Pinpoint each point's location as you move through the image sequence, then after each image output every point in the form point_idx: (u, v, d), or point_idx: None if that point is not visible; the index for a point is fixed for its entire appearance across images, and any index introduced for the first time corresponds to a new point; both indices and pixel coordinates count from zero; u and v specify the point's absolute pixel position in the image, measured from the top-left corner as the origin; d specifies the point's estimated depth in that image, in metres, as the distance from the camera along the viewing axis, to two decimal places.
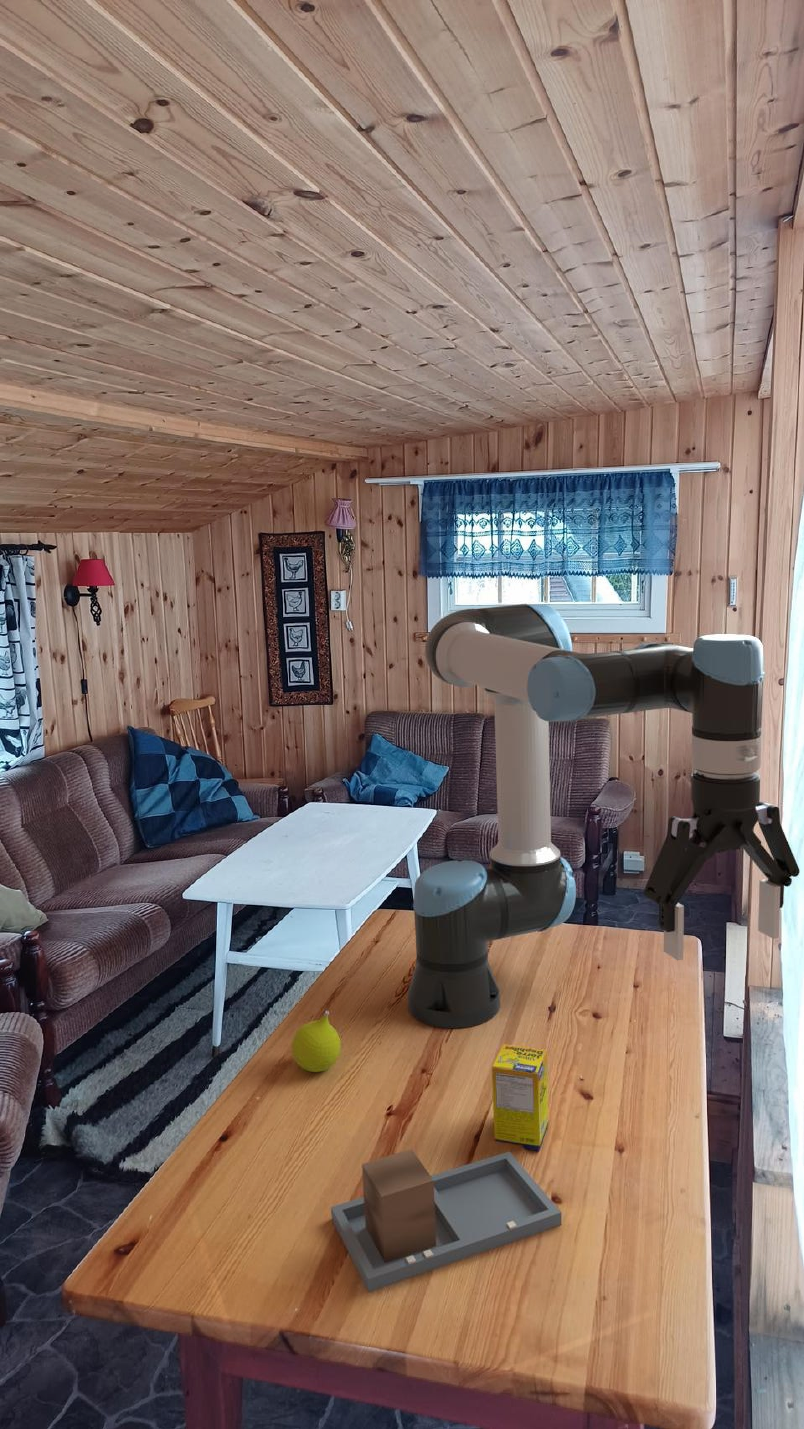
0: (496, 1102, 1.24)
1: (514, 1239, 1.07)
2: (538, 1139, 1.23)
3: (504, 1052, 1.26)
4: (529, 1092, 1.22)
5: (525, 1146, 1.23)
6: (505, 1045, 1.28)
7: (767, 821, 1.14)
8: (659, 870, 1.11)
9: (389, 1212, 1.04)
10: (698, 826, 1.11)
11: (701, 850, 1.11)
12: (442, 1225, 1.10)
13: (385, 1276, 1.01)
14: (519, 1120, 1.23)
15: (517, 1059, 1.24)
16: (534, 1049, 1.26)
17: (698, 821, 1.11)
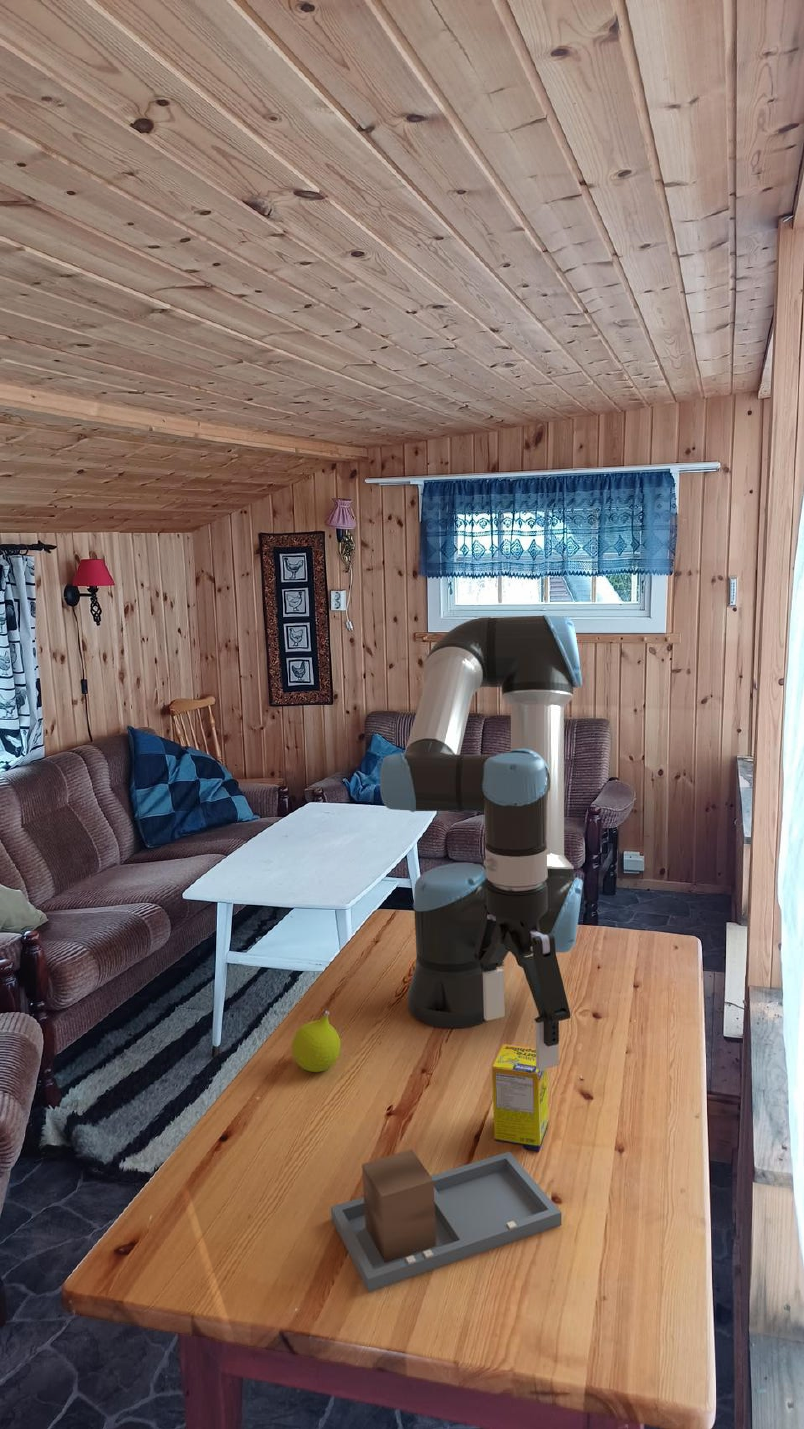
0: (496, 1102, 1.24)
1: (514, 1239, 1.07)
2: (538, 1139, 1.23)
3: (504, 1052, 1.26)
4: (529, 1092, 1.22)
5: (525, 1146, 1.23)
6: (505, 1045, 1.28)
7: (531, 948, 1.16)
8: None
9: (389, 1212, 1.04)
10: None
11: None
12: (442, 1225, 1.10)
13: (385, 1276, 1.01)
14: (519, 1120, 1.23)
15: (517, 1059, 1.24)
16: (534, 1049, 1.26)
17: None
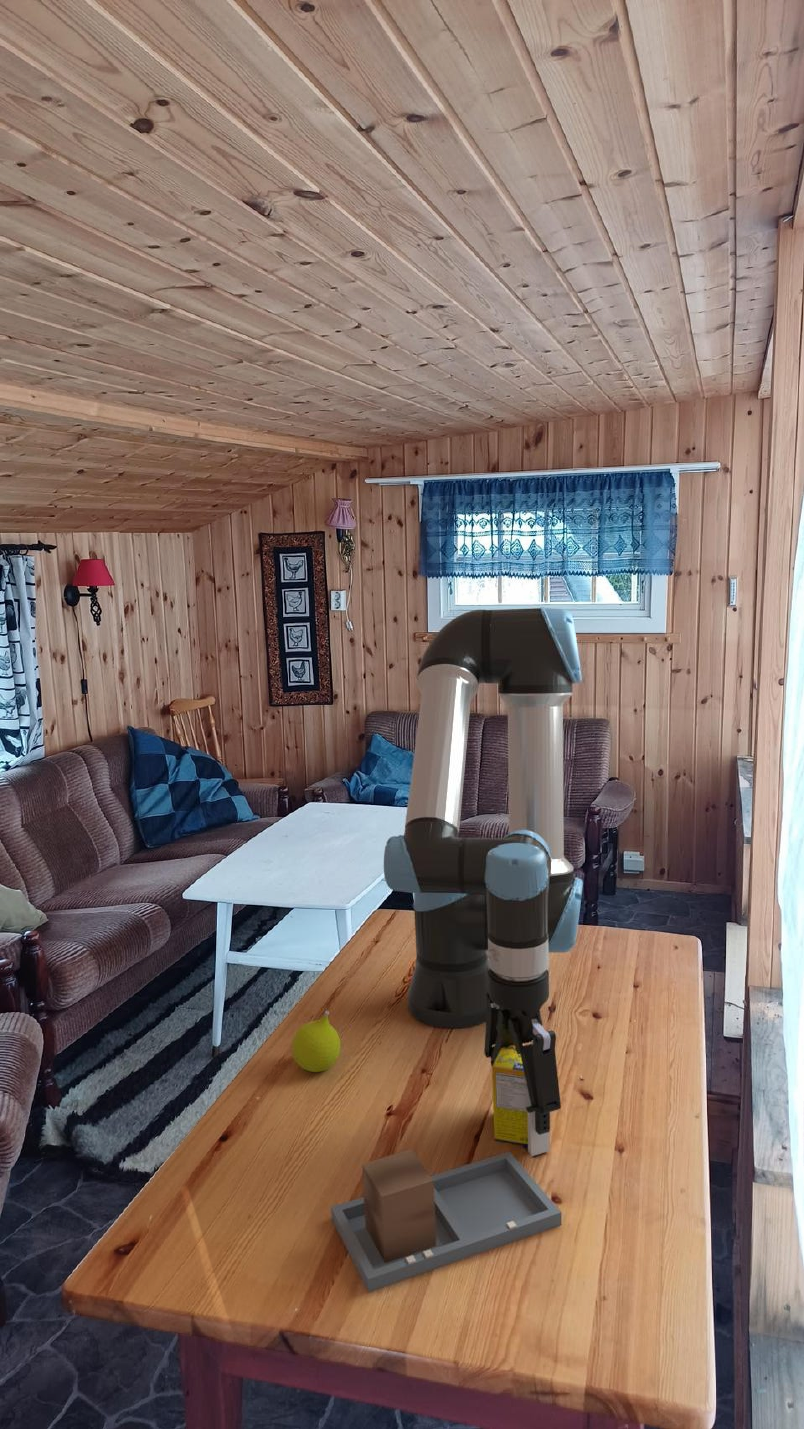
0: (496, 1102, 1.24)
1: (514, 1239, 1.07)
2: None
3: (504, 1052, 1.26)
4: None
5: (525, 1146, 1.23)
6: None
7: (532, 1041, 1.19)
8: None
9: (389, 1212, 1.04)
10: None
11: None
12: (442, 1225, 1.10)
13: (385, 1276, 1.01)
14: (519, 1120, 1.23)
15: (517, 1059, 1.24)
16: None
17: None
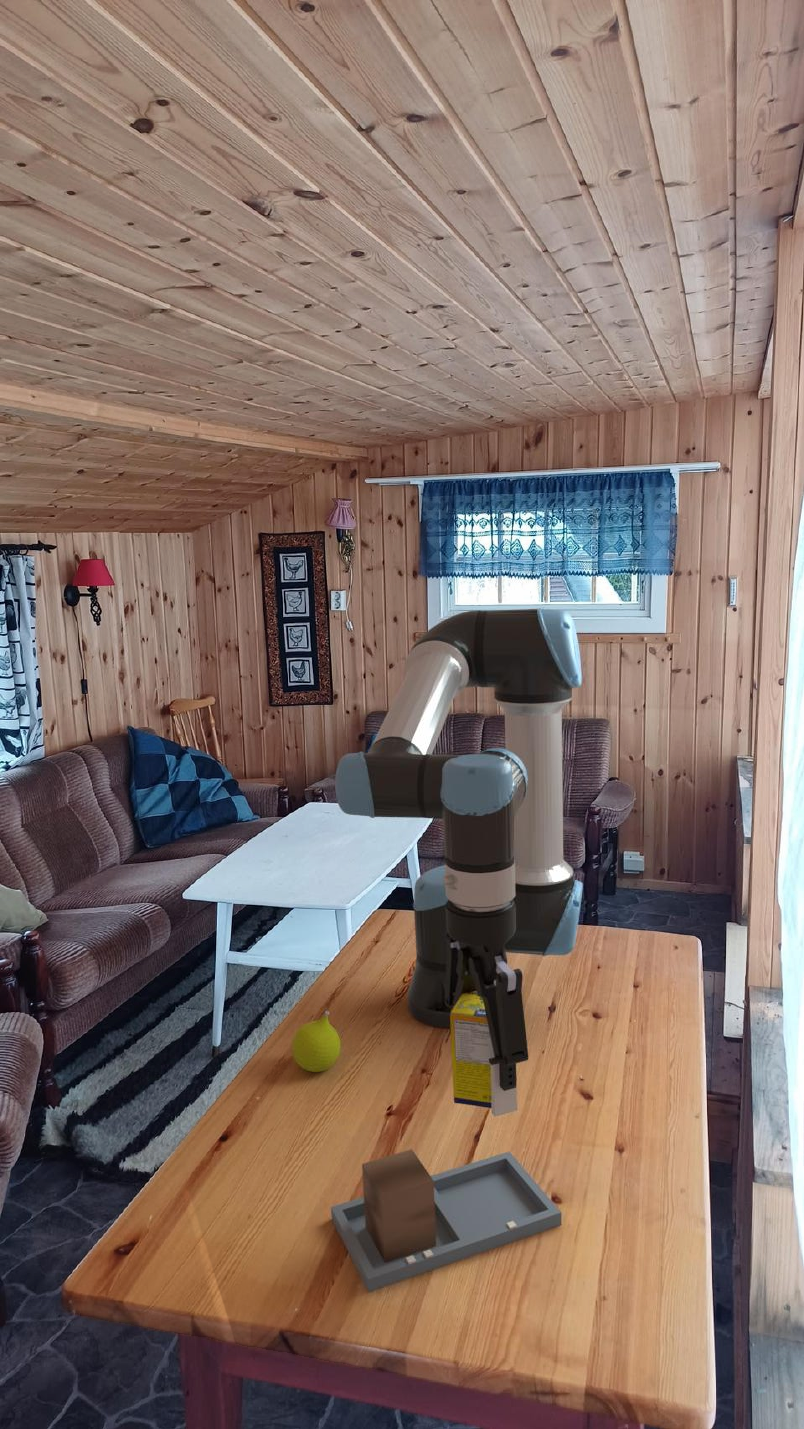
0: (455, 1054, 1.07)
1: (514, 1239, 1.07)
2: None
3: (465, 997, 1.09)
4: None
5: (488, 1105, 1.07)
6: None
7: None
8: None
9: (389, 1212, 1.04)
10: None
11: None
12: (442, 1225, 1.10)
13: (385, 1276, 1.01)
14: (481, 1075, 1.06)
15: (480, 1005, 1.07)
16: None
17: None
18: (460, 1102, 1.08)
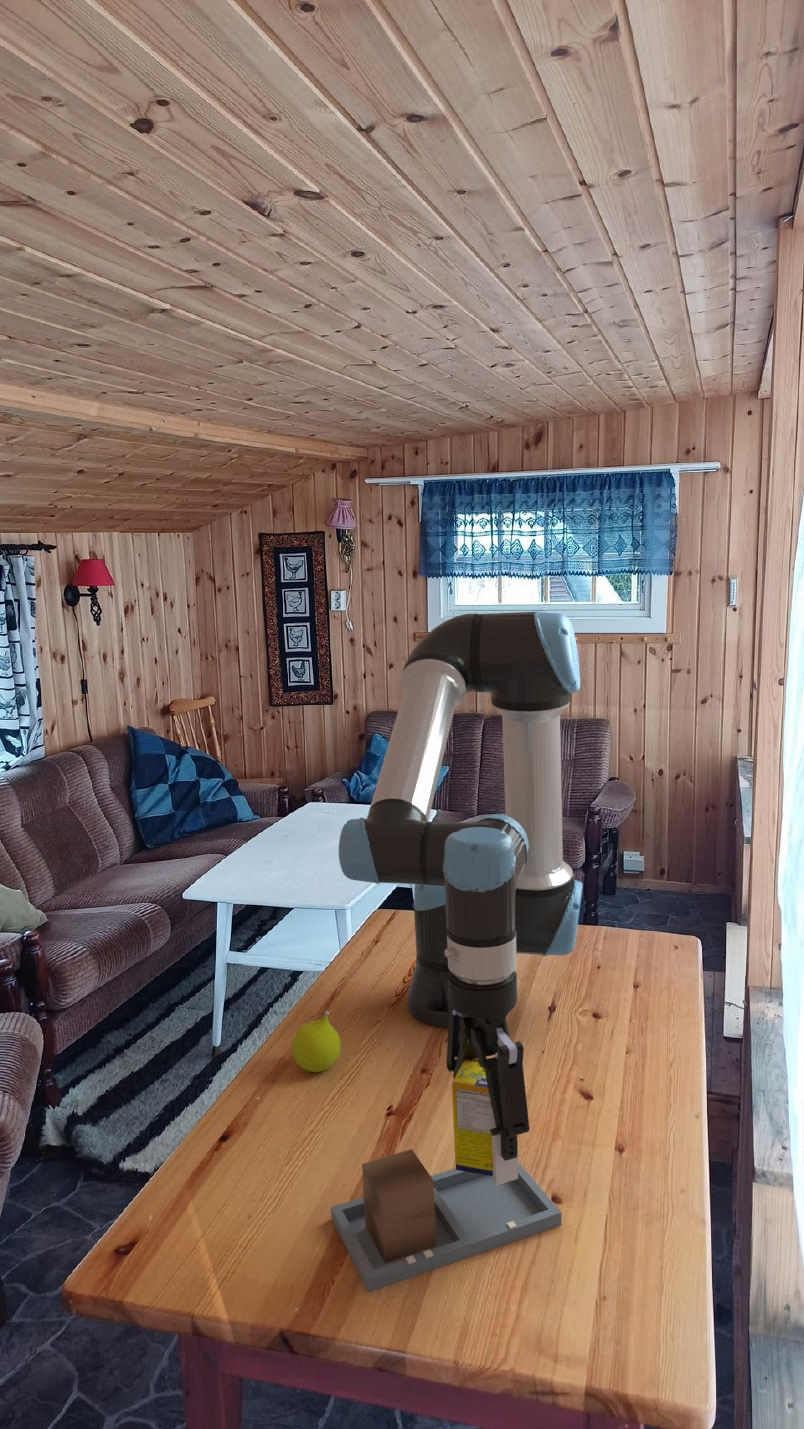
0: (457, 1122, 1.08)
1: (514, 1239, 1.07)
2: None
3: (467, 1065, 1.11)
4: None
5: (490, 1173, 1.08)
6: None
7: (496, 1053, 1.03)
8: None
9: (389, 1212, 1.04)
10: None
11: None
12: (442, 1225, 1.10)
13: (385, 1276, 1.01)
14: (483, 1143, 1.08)
15: (481, 1073, 1.09)
16: None
17: None
18: (462, 1169, 1.09)
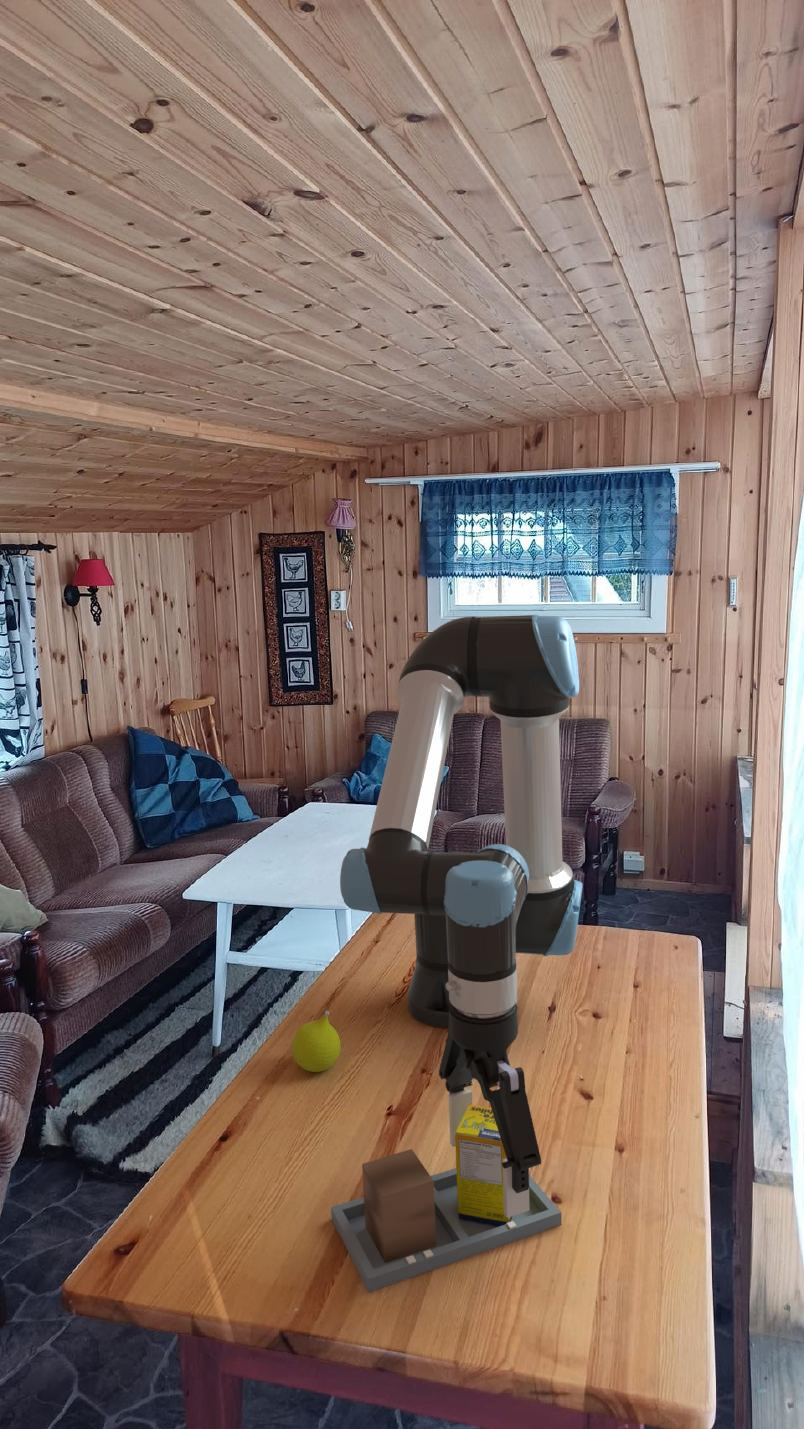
0: (460, 1172, 1.09)
1: (514, 1239, 1.07)
2: None
3: (470, 1114, 1.12)
4: (497, 1162, 1.08)
5: (492, 1222, 1.09)
6: (471, 1106, 1.14)
7: None
8: None
9: (389, 1212, 1.04)
10: None
11: None
12: (442, 1225, 1.10)
13: (385, 1276, 1.01)
14: (485, 1193, 1.09)
15: (484, 1124, 1.10)
16: None
17: None
18: (464, 1218, 1.10)
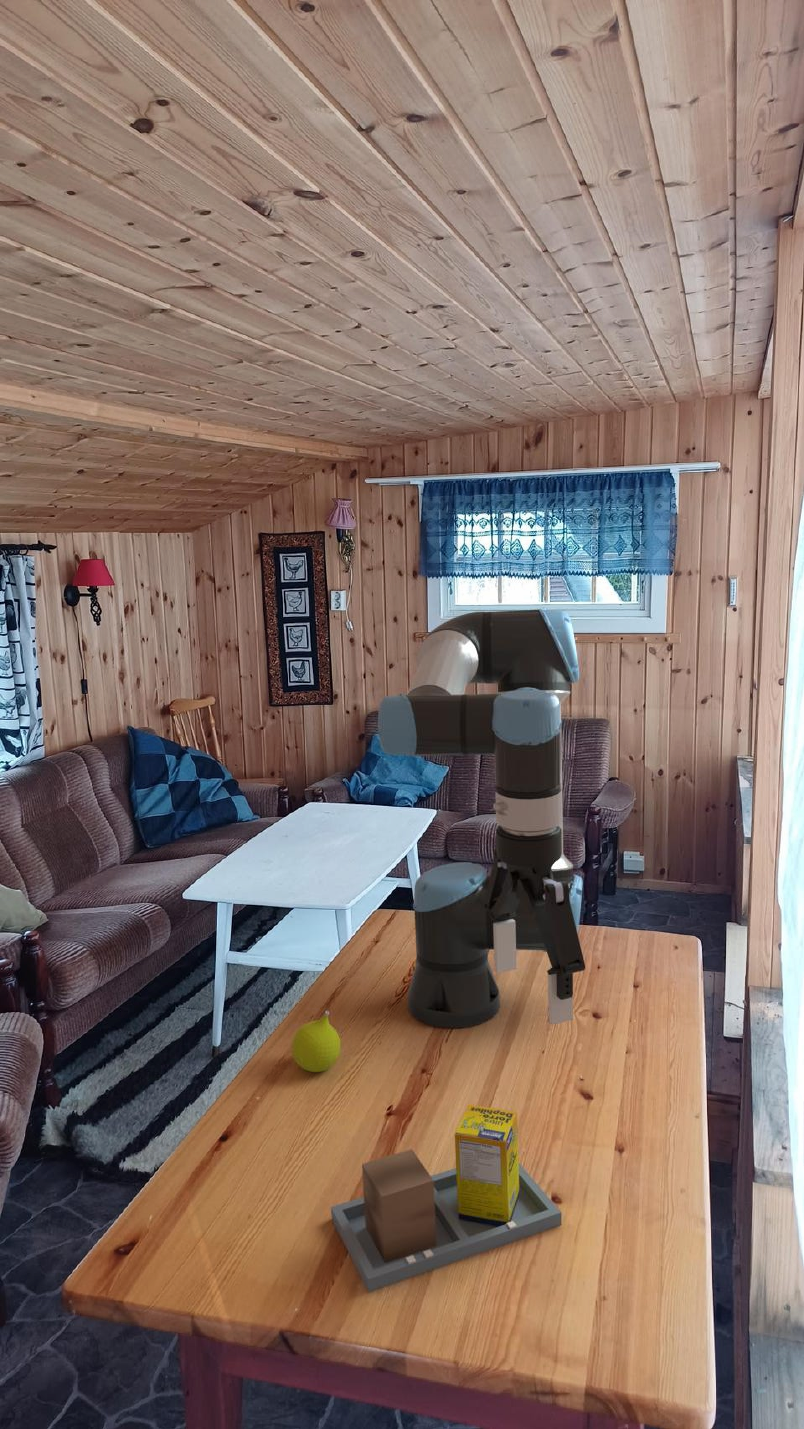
0: (460, 1172, 1.10)
1: (514, 1239, 1.07)
2: (507, 1215, 1.09)
3: (469, 1114, 1.12)
4: (496, 1162, 1.08)
5: (492, 1222, 1.09)
6: (471, 1106, 1.14)
7: None
8: None
9: (389, 1212, 1.04)
10: None
11: None
12: (442, 1225, 1.10)
13: (385, 1276, 1.01)
14: (485, 1193, 1.09)
15: (483, 1124, 1.10)
16: (503, 1111, 1.12)
17: None
18: (464, 1218, 1.10)
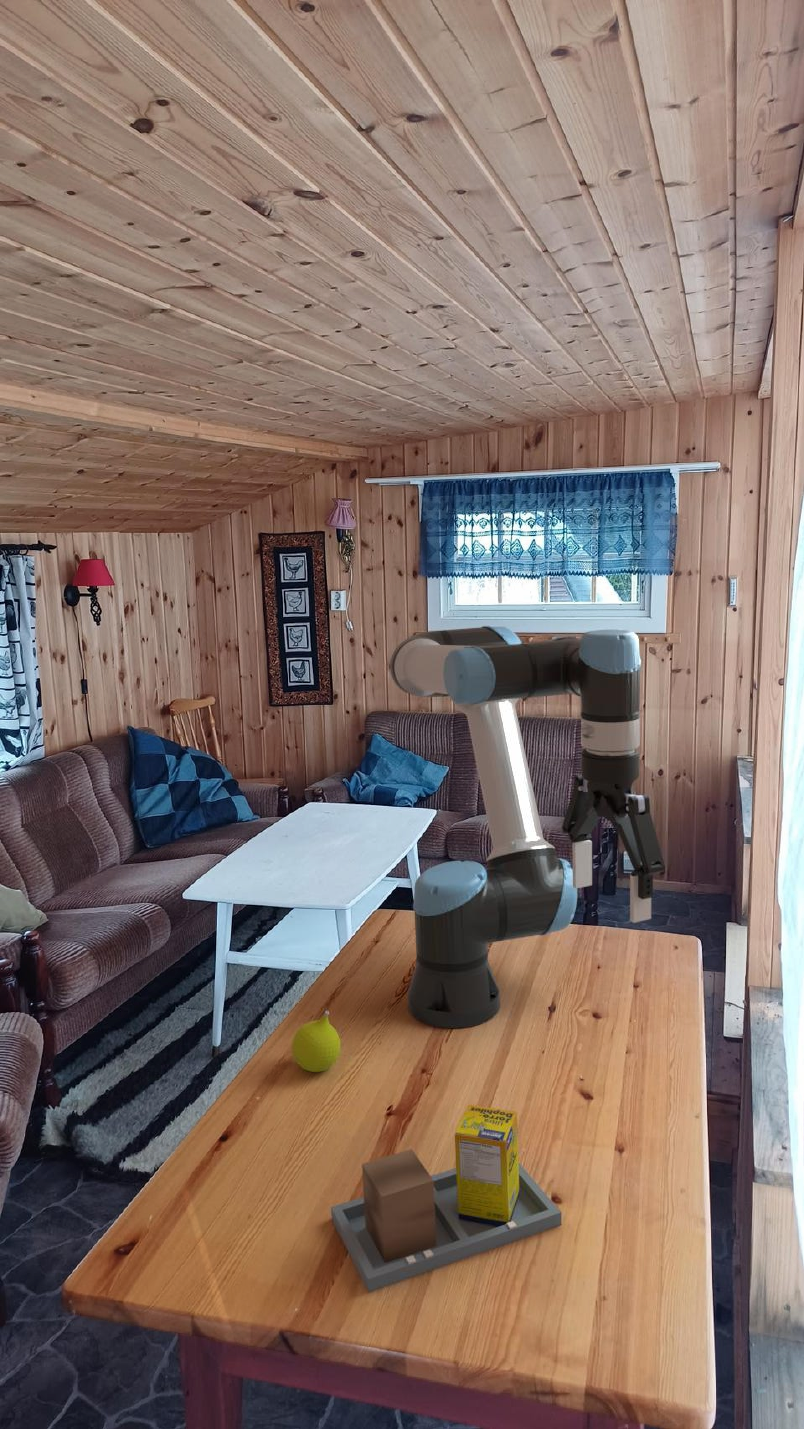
0: (460, 1172, 1.10)
1: (514, 1239, 1.07)
2: (507, 1215, 1.09)
3: (469, 1114, 1.12)
4: (496, 1162, 1.08)
5: (492, 1222, 1.09)
6: (471, 1106, 1.14)
7: (627, 808, 1.24)
8: None
9: (389, 1212, 1.04)
10: None
11: None
12: (442, 1225, 1.10)
13: (385, 1276, 1.01)
14: (485, 1193, 1.09)
15: (483, 1124, 1.10)
16: (503, 1111, 1.12)
17: (588, 781, 1.33)
18: (464, 1218, 1.10)
